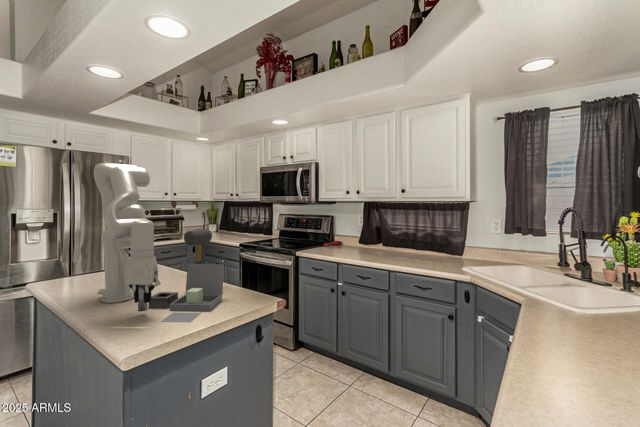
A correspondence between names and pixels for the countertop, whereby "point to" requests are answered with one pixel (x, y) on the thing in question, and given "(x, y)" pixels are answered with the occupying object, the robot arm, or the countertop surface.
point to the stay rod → (141, 298)
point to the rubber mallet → (197, 240)
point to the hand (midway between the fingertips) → (142, 301)
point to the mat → (181, 317)
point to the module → (194, 296)
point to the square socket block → (163, 299)
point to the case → (207, 305)
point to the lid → (206, 278)
